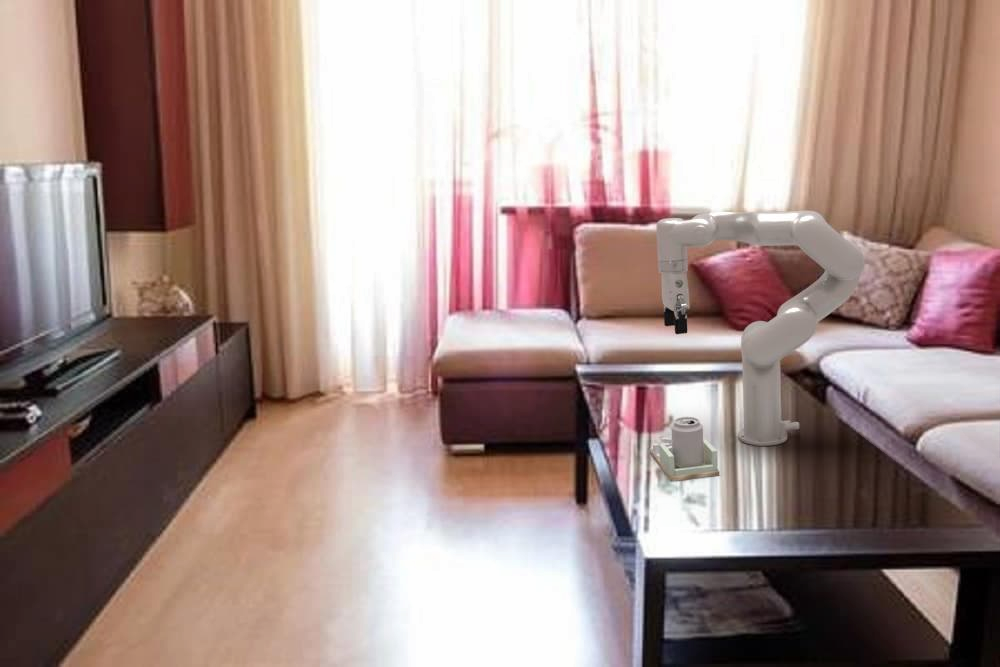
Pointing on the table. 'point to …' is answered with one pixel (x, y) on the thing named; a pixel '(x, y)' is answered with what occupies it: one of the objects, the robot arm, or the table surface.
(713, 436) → the table surface
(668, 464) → the bracket
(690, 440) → the can
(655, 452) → the clip
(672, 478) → the board
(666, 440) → the clip
